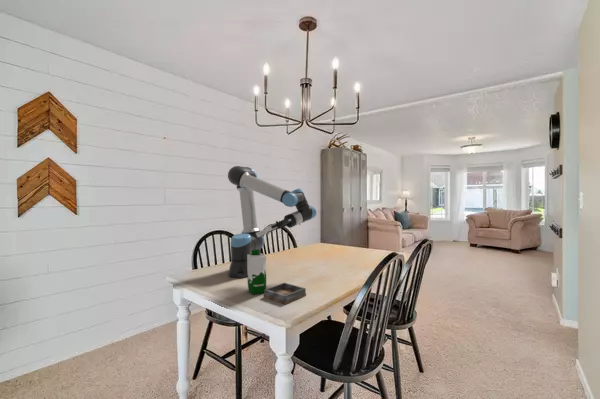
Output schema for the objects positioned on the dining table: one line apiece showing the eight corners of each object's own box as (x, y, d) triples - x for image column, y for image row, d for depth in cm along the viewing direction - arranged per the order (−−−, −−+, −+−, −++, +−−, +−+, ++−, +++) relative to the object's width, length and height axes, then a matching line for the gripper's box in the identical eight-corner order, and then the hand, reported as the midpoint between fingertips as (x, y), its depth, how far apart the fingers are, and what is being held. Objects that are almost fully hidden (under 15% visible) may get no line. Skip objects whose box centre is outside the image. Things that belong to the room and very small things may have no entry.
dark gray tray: (263, 297, 137) (263, 289, 137) (284, 289, 147) (284, 282, 147) (285, 304, 128) (285, 296, 128) (306, 295, 138) (306, 288, 138)
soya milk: (263, 287, 150) (262, 248, 150) (268, 293, 142) (268, 252, 141) (246, 290, 147) (245, 250, 146) (250, 296, 138) (250, 253, 138)
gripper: (305, 220, 159) (272, 234, 147) (286, 230, 179) (256, 243, 168) (300, 207, 159) (266, 220, 148) (281, 219, 180) (250, 231, 169)
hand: (261, 232), depth 158 cm, fingers open, 13 cm apart
